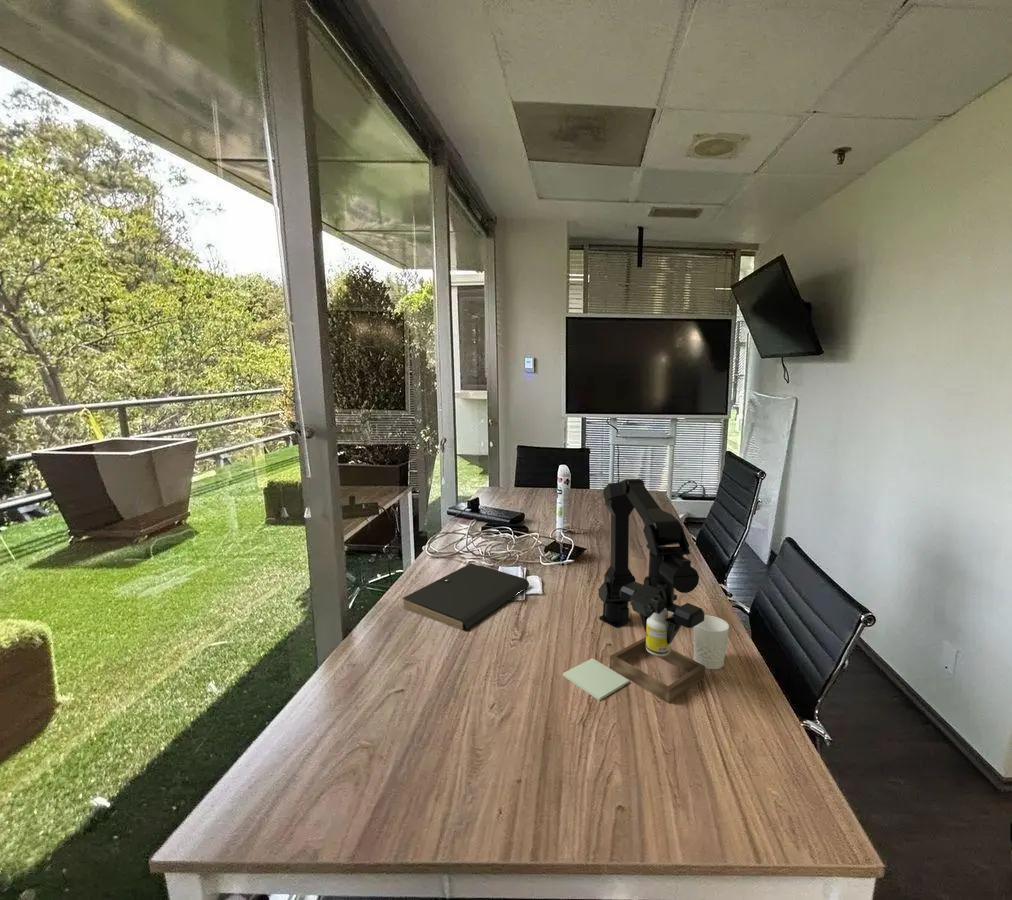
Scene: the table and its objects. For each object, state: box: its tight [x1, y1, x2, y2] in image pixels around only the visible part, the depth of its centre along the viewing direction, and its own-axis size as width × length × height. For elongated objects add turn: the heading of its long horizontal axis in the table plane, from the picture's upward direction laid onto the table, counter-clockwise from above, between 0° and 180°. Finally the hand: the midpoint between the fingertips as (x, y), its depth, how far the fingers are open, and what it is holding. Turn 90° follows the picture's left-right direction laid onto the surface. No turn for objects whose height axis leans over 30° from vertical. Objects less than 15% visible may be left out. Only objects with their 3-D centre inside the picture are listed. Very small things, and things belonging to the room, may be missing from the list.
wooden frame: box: [608, 636, 706, 704], centre depth 113 cm, size 16×14×3 cm
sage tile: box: [562, 657, 630, 701], centre depth 110 cm, size 11×10×1 cm
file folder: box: [402, 563, 530, 631], centre depth 151 cm, size 33×4×24 cm
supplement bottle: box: [645, 609, 671, 657], centre depth 111 cm, size 5×5×10 cm
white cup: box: [692, 614, 730, 670], centre depth 117 cm, size 8×8×10 cm
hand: (658, 638), depth 111 cm, fingers closed on supplement bottle, 5 cm apart
